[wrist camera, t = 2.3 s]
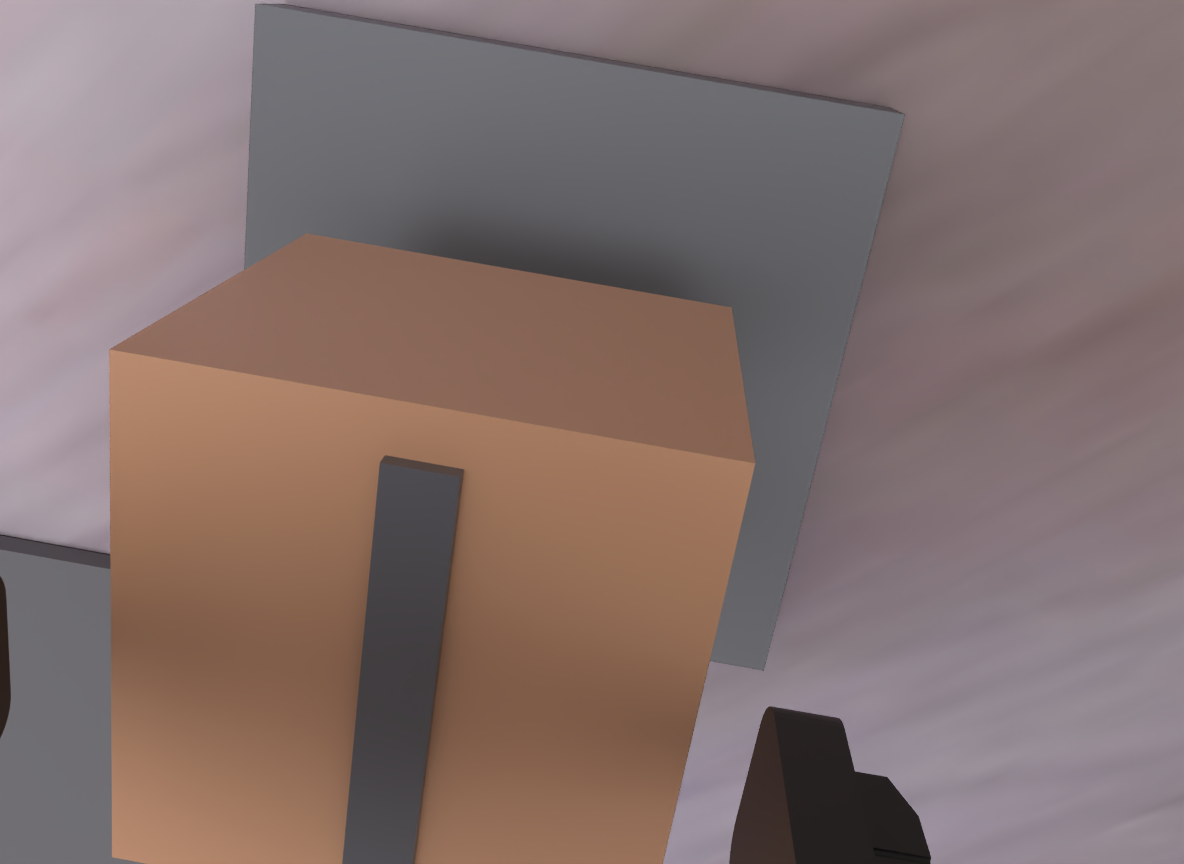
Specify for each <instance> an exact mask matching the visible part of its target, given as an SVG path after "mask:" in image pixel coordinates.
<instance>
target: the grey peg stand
mask: <svg viewBox="0 0 1184 864" xmlns="http://www.w3.org/2000/svg"><path fill="white" fill-rule="evenodd" d="M904 116H905V114H903V113H901V112H898V111H896V110H894V109H892V108H890V107H884V106H878V105H872V104H866V103H860V102H854V101H849V100H843V99H837V98H831V97H825V96H819V95H813V94H807V93H802V92H796V91H790V90H784V89H778V88H772V87H766V86H761V85H755V84H749V83H743V82H737V81H731V80H725V79H720V78H714V77H708V76H702V75H696V74H690V73H684V72H679V71H673V70H667V69H661V68H655V67H649V66H643V65H637V64H632V63H626V62H620V61H614V60H608V59H602V58H596V57H591V56H585V55H579V54H573V53H567V52H561V51H555V50H550V49H544V48H538V47H532V46H526V45H520V44H514V43H509V42H503V41H497V40H491V39H485V38H479V37H473V36H467V35H462V34H456V33H450V32H444V31H438V30H432V29H426V28H421V27H415V26H409V25H403V24H397V23H391V22H385V21H380V20H374V19H368V18H362V17H356V16H350V15H344V14H339V13H333V12H327V11H321V10H315V9H309V8H303V7H297V6H292V5H286V4H255V22H254V46H253V71H252V95H251V119H250V144H249V168H248V192H247V216H246V241H245V265H244V270H245V269H247V268H249V267H250V266H252V265H254V264H255V263H257V262H259V261H260V260H262V259H264V258H265V257H267V256H269V255H271V254H272V253H274V252H276V251H277V250H279V249H281V248H282V247H284V246H286V245H288V244H289V243H291V242H293V241H294V240H296V239H298V238H299V237H301V236H303V235H305V234H306V233H307V234H313V235H319V236H325V237H330V238H336V239H342V240H348V241H353V242H359V243H365V244H371V245H376V246H382V247H388V248H393V249H399V250H405V251H411V252H416V253H422V254H428V255H434V256H439V257H445V258H451V259H457V260H462V261H468V262H474V263H480V264H485V265H491V266H497V267H502V268H508V269H514V270H520V271H525V272H531V273H537V274H543V275H548V276H554V277H560V278H566V279H571V280H577V281H583V282H589V283H594V284H600V285H606V286H612V287H617V288H623V289H629V290H634V291H640V292H646V293H652V294H657V295H663V296H669V297H675V298H680V299H686V300H692V301H698V302H703V303H709V304H715V305H721V306H726V307H732V313H733V320H734V327H735V333H736V340H737V346H738V353H739V359H740V366H741V373H742V379H743V386H744V392H745V399H746V406H747V412H748V419H749V425H750V432H751V439H752V445H753V452H754V458H755V467H754V471H753V476H752V480H751V484H750V489H749V493H748V497H747V502H746V506H745V510H744V515H743V519H742V523H741V528H740V532H739V536H738V541H737V545H736V549H735V554H734V558H733V562H732V566H731V571H730V575H729V579H728V584H727V588H726V592H725V597H724V601H723V605H722V610H721V614H720V618H719V623H718V627H717V631H716V636H715V640H714V644H713V649H712V653H711V657H710V661H713V662H719V663H724V664H730V665H735V666H741V667H747V668H752V669H758V670H763V671H764V667H765V664H766V660H767V656H768V652H769V648H770V644H771V640H772V636H773V632H774V628H775V624H776V620H777V616H778V612H779V608H780V604H781V600H782V596H783V593H784V589H785V585H786V581H787V577H788V573H789V569H790V565H791V561H792V557H793V553H794V549H795V545H796V541H797V537H798V533H799V529H800V526H801V522H802V518H803V514H804V510H805V506H806V502H807V498H808V494H809V490H810V486H811V482H812V478H813V474H814V470H815V466H816V462H817V459H818V455H819V451H820V447H821V443H822V439H823V435H824V431H825V427H826V423H827V419H828V415H829V411H830V407H831V403H832V399H833V395H834V392H835V388H836V384H837V380H838V376H839V372H840V368H841V364H842V360H843V356H844V352H845V348H846V344H847V340H848V336H849V332H850V328H851V325H852V321H853V317H854V313H855V309H856V305H857V301H858V297H859V293H860V289H861V285H862V281H863V277H864V273H865V269H866V265H867V261H868V258H869V254H870V250H871V246H872V242H873V238H874V234H875V230H876V226H877V222H878V218H879V214H880V210H881V206H882V202H883V198H884V194H885V191H886V187H887V183H888V179H889V175H890V171H891V167H892V163H893V159H894V155H895V151H896V147H897V143H898V139H899V135H900V131H901V127H902V124H903V120H904Z"/></svg>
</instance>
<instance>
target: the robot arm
mask: <svg viewBox="0 0 1184 864" xmlns="http://www.w3.org/2000/svg"><path fill="white" fill-rule="evenodd" d="M10 703H11V684H10V663H9V641H8V620H7V599H6V589H5V585H4V582H3V580H2V578H1V577H0V738H1V736H2V734H3V731H4V728H5V726H6V723H7V719H8V715H9V710H10ZM930 860H931V856H930V852H929V849H928V846H927V843H926V839H925V836H924V833H923V829H922V826H921V823H920V820H919V816H918V815H917V814H916V812H915V811H914V810H913V809H912V807H911V806H910V805H909V804H908V802H907V801H906V800H905V799H904V798H903V796H902V795H901V794H900V793H899V791H898V790H897V789H896V788H895V786H894V785H893V784H892V783H891V781H890V780H889V779H888V778H887V777H883V776H878V775H872V774H866V773H860V772H855V771H854V766H853V762H852V758H851V754H850V750H849V746H848V741H847V737H846V733H845V729H844V726H843V723H842V721H841V720H840V719H839V718H835V717H829V716H823V715H817V714H811V713H806V712H800V711H794V710H788V709H782V708H776V707H770V706H769V707H768V708H767V709H766V711H765V713H764V715H763V718H762V721H761V724H760V728H759V732H758V736H757V740H756V744H755V748H754V752H753V756H752V759H751V763H750V767H749V771H748V775H747V779H746V783H745V787H744V791H743V795H742V799H741V803H740V807H739V810H738V814H737V818H736V822H735V827H734V832H733V838H732V844H731V852H730V863H729V864H930Z"/></svg>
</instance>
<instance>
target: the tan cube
mask: <svg viewBox="0 0 1184 864" xmlns="http://www.w3.org/2000/svg"><path fill="white" fill-rule="evenodd" d="M109 363H110V559H111V756H112V857H113V858H119V859H124V860H129V861H135V862H140V863H146V864H663V860H664V856H665V852H666V847H667V843H668V839H669V834H670V830H671V826H672V822H673V817H674V813H675V809H676V804H677V800H678V796H679V791H680V787H681V783H682V778H683V774H684V770H685V765H686V761H687V757H688V752H689V748H690V744H691V739H692V735H693V731H694V726H695V722H696V718H697V713H698V709H699V705H700V700H701V696H702V692H703V688H704V683H705V679H706V675H707V670H708V666H709V662H710V657H711V653H712V649H713V644H714V640H715V636H716V631H717V627H718V623H719V618H720V614H721V610H722V605H723V601H724V597H725V592H726V588H727V584H728V579H729V575H730V571H731V566H732V562H733V558H734V554H735V549H736V545H737V541H738V536H739V532H740V528H741V523H742V519H743V515H744V510H745V506H746V502H747V497H748V493H749V489H750V484H751V480H752V476H753V471H754V467H755V458H754V452H753V445H752V439H751V432H750V425H749V419H748V412H747V406H746V399H745V392H744V386H743V379H742V373H741V366H740V359H739V353H738V346H737V340H736V333H735V327H734V320H733V313H732V307H726V306H721V305H715V304H709V303H703V302H698V301H692V300H686V299H680V298H675V297H669V296H663V295H657V294H652V293H646V292H640V291H634V290H629V289H623V288H617V287H612V286H606V285H600V284H594V283H589V282H583V281H577V280H571V279H566V278H560V277H554V276H548V275H543V274H537V273H531V272H525V271H520V270H514V269H508V268H502V267H497V266H491V265H485V264H480V263H474V262H468V261H462V260H457V259H451V258H445V257H439V256H434V255H428V254H422V253H416V252H411V251H405V250H399V249H393V248H388V247H382V246H376V245H371V244H365V243H359V242H353V241H348V240H342V239H336V238H330V237H325V236H319V235H313V234H307V233H306V234H305V235H303V236H301V237H299V238H298V239H296V240H294V241H293V242H291V243H289V244H288V245H286V246H284V247H282V248H281V249H279V250H277V251H276V252H274V253H272V254H271V255H269V256H267V257H265V258H264V259H262V260H260V261H259V262H257V263H255V264H254V265H252V266H250V267H249V268H247V269H245V270H243V271H242V272H240V273H238V274H237V275H235V276H233V277H232V278H230V279H228V280H226V281H225V282H223V283H221V284H220V285H218V286H216V287H215V288H213V289H211V290H209V291H208V292H206V293H204V294H203V295H201V296H199V297H198V298H196V299H194V300H192V301H191V302H189V303H187V304H186V305H184V306H182V307H181V308H179V309H177V310H176V311H174V312H172V313H170V314H169V315H167V316H165V317H164V318H162V319H160V320H159V321H157V322H155V323H153V324H152V325H150V326H148V327H147V328H145V329H143V330H142V331H140V332H138V333H136V334H135V335H133V336H131V337H130V338H128V339H126V340H125V341H123V342H121V343H119V344H118V345H116V346H114V347H113V348H111V349H109Z"/></svg>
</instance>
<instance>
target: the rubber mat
mask: <svg viewBox="0 0 1184 864" xmlns="http://www.w3.org/2000/svg"><path fill="white" fill-rule="evenodd" d="M0 577H1V578H2V580H3V582H4V585H5V589H6V599H7V620H8V641H9V663H10V684H11V703H10V710H9V715H8V719H7V723H6V726H5V728H4V731H3V734H2V736H1V738H0V864H146V863H140V862H135V861H129V860H124V859H119V858H113V857H112V756H111V559H110V555H106V554H101V553H95V552H89V551H84V550H78V549H73V548H67V547H62V546H56V545H51V544H45V543H39V542H34V541H28V540H23V539H17V538H12V537H6V536H1V535H0Z"/></svg>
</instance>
